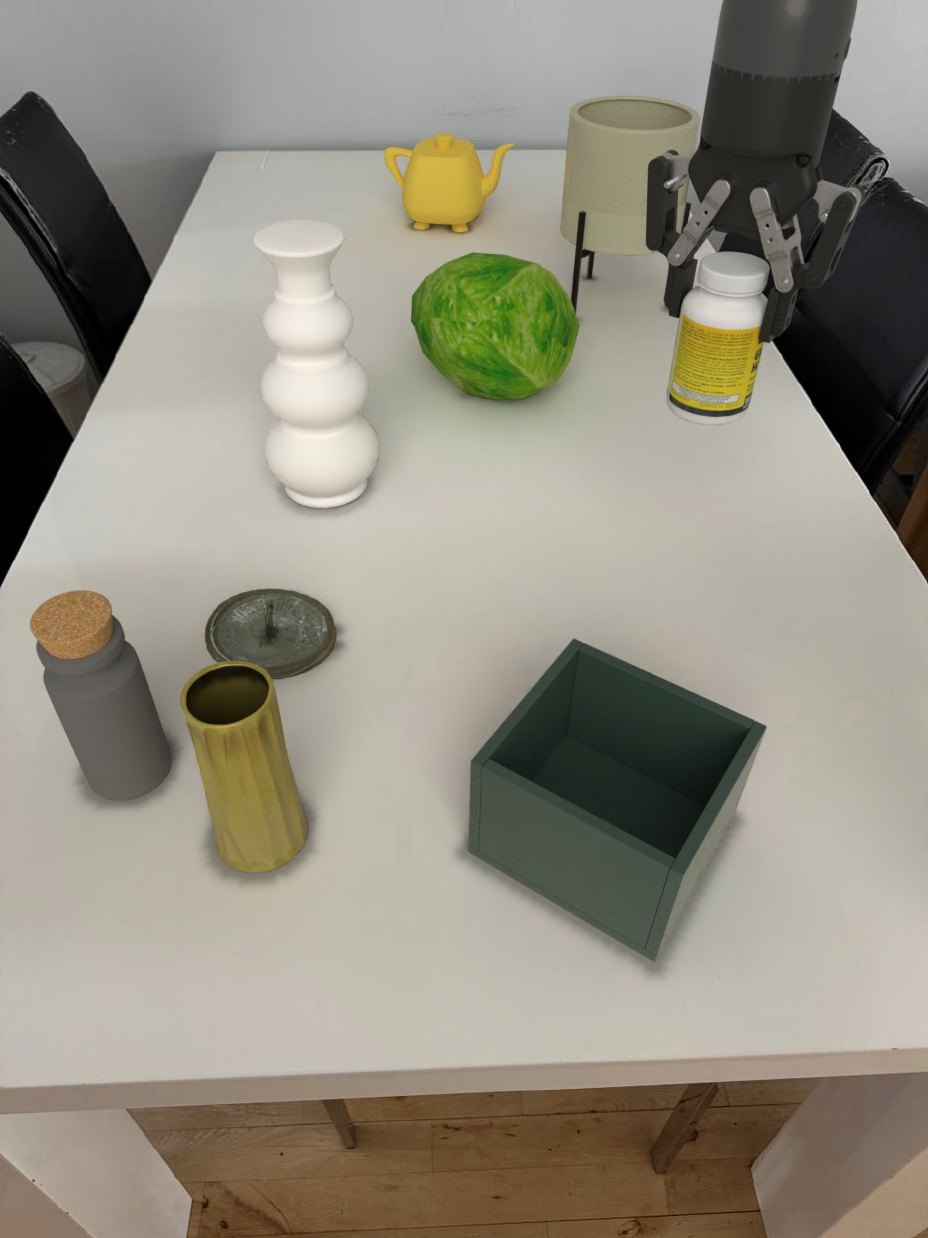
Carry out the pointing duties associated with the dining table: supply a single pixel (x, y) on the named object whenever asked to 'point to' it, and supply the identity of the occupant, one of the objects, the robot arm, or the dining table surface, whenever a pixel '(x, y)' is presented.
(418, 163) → the teapot
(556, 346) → the lettuce
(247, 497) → the dining table surface
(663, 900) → the open box
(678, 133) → the planter
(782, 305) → the robot arm
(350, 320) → the vase
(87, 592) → the bottle
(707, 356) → the pill bottle
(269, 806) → the vase
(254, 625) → the lid
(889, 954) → the dining table surface
